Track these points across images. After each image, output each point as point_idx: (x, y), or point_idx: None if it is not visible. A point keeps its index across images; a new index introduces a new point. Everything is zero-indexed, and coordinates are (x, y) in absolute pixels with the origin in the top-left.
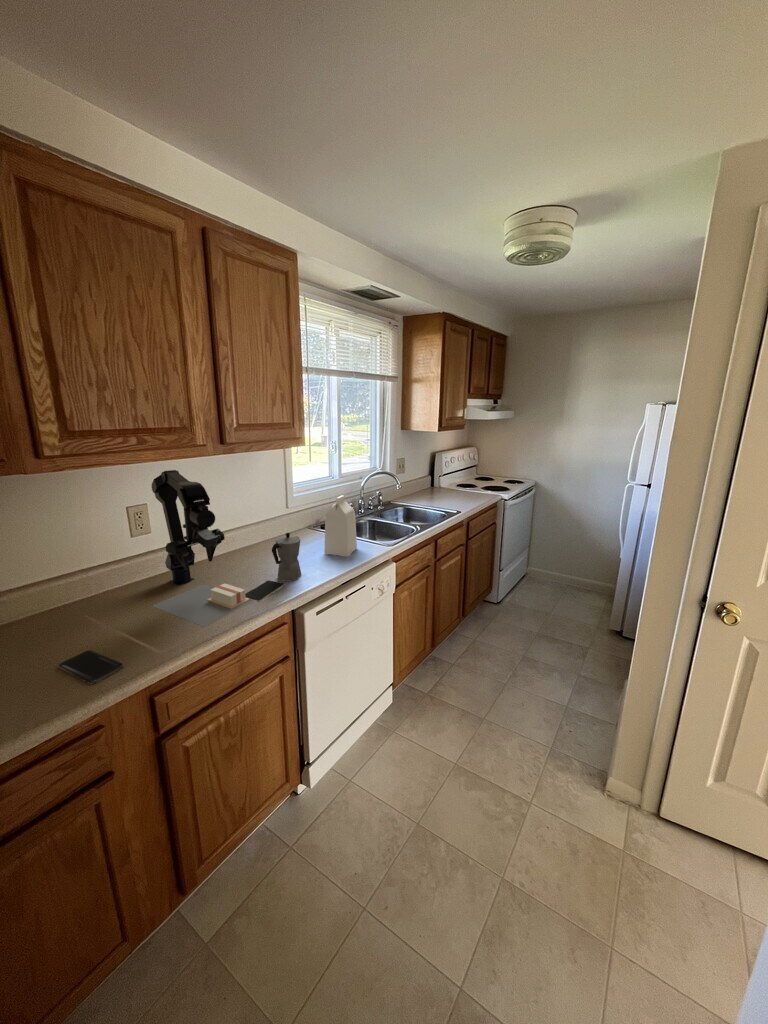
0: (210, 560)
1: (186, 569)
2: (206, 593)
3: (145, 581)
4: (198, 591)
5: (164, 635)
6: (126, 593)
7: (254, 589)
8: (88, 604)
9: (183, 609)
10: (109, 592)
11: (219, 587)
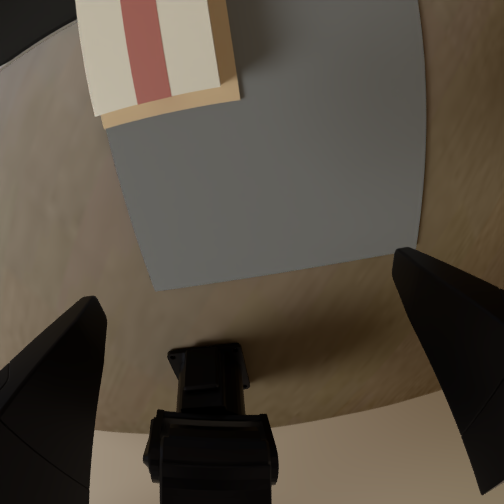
0: (92, 306)
1: (412, 255)
2: (194, 184)
3: (290, 416)
4: (212, 237)
5: (495, 10)
6: (371, 380)
7: (2, 54)
8: None
9: (376, 104)
10: (383, 400)
11: (155, 73)
